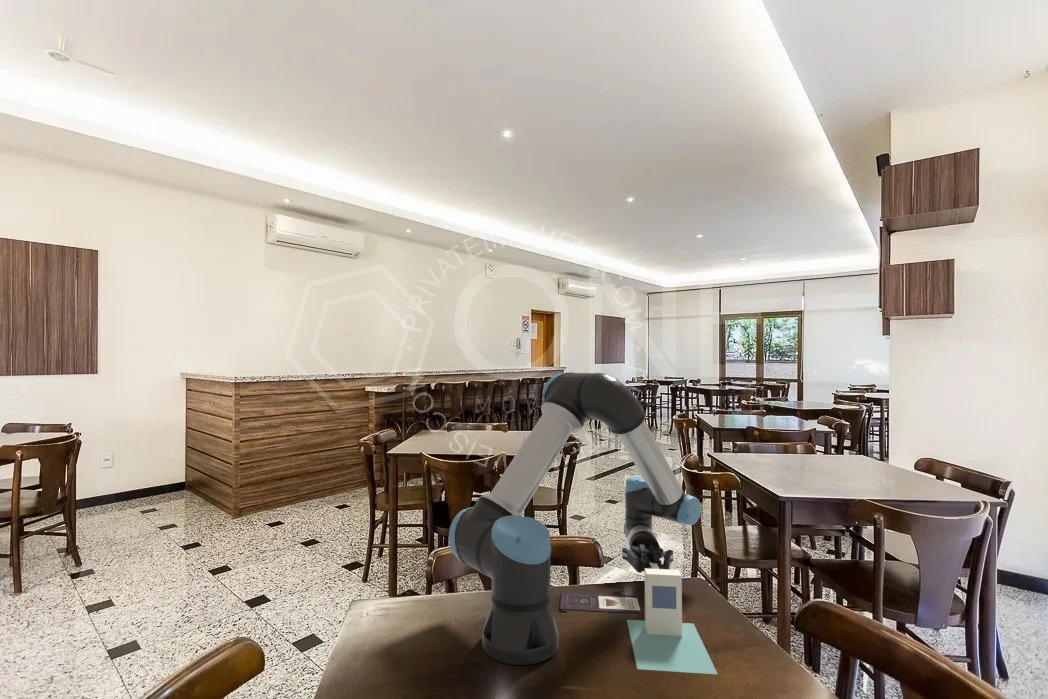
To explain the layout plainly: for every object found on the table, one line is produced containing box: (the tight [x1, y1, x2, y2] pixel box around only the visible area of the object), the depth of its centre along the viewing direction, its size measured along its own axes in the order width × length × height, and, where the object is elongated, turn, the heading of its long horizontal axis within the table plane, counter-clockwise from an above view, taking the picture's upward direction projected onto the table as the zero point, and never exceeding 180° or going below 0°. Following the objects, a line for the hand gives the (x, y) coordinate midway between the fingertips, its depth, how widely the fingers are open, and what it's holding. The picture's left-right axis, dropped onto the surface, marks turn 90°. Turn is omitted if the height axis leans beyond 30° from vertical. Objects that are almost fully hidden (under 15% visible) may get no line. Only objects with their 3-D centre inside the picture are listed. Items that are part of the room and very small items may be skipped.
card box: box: [644, 568, 683, 636], centre depth 102 cm, size 7×3×12 cm, turn 84°
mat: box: [626, 619, 719, 676], centre depth 97 cm, size 14×18×1 cm
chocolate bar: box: [559, 591, 642, 615], centre depth 115 cm, size 9×1×18 cm
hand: (658, 580), depth 109 cm, fingers closed
